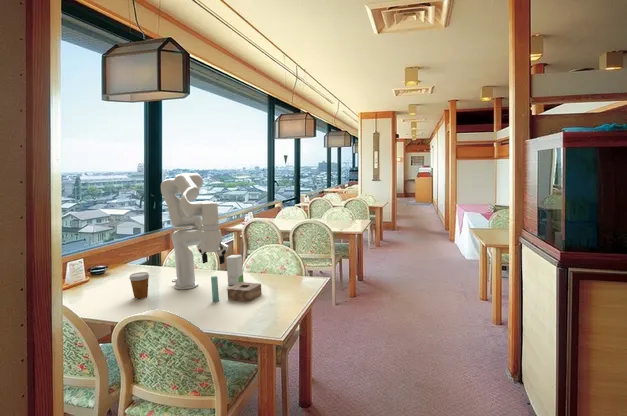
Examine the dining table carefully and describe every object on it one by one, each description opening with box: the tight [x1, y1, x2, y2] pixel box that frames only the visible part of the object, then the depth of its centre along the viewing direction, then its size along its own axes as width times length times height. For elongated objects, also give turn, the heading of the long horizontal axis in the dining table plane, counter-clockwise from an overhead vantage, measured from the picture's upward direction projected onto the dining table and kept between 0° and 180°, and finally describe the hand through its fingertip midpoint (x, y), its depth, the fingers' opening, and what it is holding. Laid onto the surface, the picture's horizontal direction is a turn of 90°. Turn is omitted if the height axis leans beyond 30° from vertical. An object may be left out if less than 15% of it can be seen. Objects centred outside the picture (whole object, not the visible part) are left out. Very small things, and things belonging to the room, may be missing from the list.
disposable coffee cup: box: [128, 271, 150, 300], centre depth 213 cm, size 10×10×12 cm
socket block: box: [227, 281, 263, 303], centre depth 207 cm, size 12×12×6 cm
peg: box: [210, 275, 220, 303], centre depth 202 cm, size 3×3×12 cm
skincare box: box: [225, 254, 244, 286], centre depth 232 cm, size 8×7×16 cm
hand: (213, 263), depth 201 cm, fingers open, 9 cm apart
